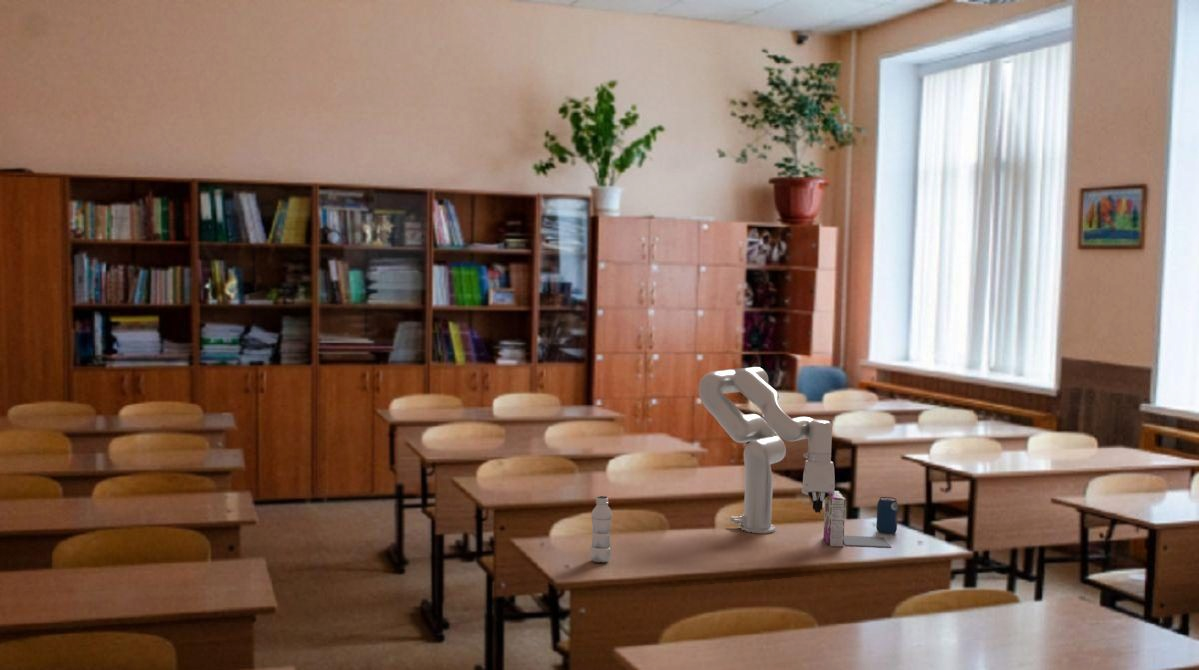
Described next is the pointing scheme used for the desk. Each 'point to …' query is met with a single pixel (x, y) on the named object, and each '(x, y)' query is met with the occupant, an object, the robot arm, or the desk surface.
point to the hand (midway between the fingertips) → (817, 511)
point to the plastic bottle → (601, 531)
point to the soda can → (887, 515)
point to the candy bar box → (834, 519)
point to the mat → (866, 541)
